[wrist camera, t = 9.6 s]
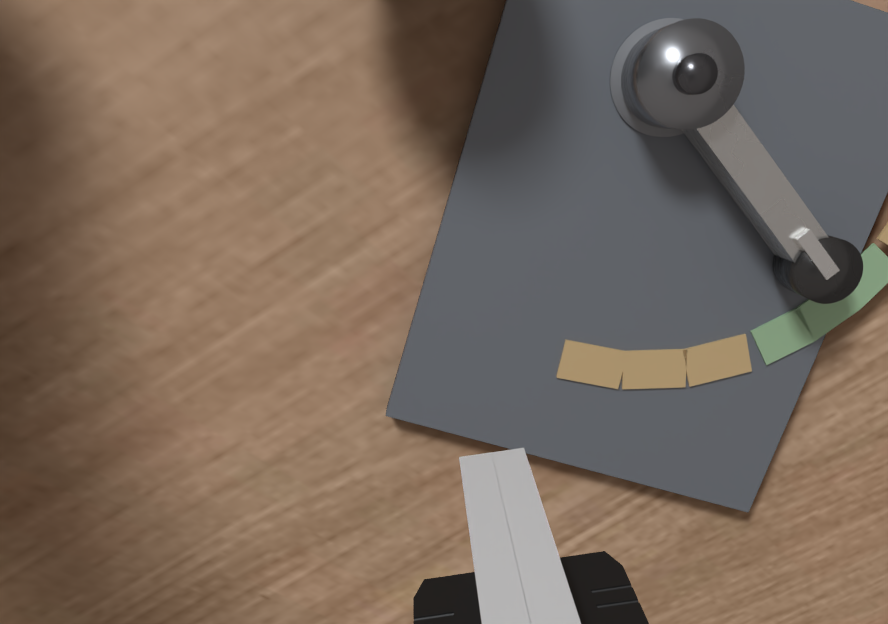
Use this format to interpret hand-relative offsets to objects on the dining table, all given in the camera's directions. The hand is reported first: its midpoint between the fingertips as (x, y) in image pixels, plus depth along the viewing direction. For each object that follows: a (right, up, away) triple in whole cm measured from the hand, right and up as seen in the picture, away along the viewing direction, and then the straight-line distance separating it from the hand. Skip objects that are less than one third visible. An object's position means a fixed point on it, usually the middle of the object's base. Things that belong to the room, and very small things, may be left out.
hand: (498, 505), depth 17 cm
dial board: (+10, +8, +20) cm, 24 cm away
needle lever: (+12, +11, +18) cm, 24 cm away
